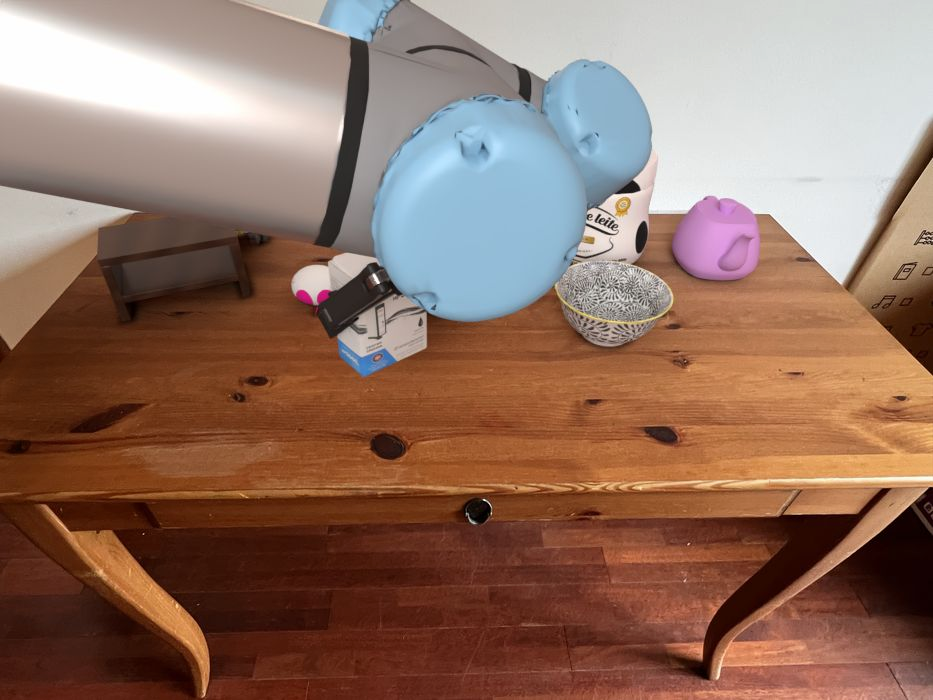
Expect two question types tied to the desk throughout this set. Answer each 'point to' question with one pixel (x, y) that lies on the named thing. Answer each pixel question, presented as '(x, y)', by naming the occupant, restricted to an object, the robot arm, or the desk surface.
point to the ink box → (377, 323)
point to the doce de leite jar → (620, 222)
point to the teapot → (717, 240)
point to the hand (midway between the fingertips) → (363, 308)
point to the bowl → (612, 301)
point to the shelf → (167, 259)
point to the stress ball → (312, 284)
